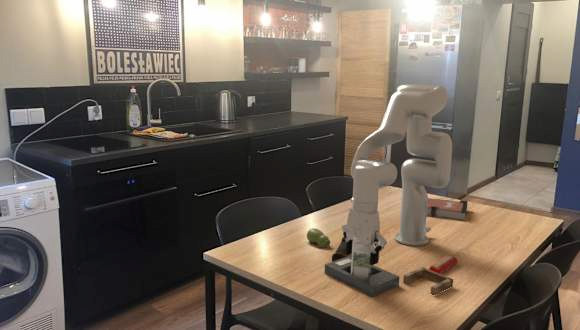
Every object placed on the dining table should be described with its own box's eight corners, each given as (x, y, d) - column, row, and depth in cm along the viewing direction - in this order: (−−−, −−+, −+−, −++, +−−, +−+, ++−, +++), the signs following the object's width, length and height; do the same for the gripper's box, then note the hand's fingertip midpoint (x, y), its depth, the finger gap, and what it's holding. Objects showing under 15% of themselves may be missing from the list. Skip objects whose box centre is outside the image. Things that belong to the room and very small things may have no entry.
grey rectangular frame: (350, 263, 158) (350, 254, 158) (398, 285, 143) (399, 275, 143) (324, 273, 151) (324, 263, 150) (372, 297, 136) (373, 286, 135)
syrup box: (368, 275, 150) (371, 232, 147) (370, 283, 144) (372, 239, 141) (350, 274, 150) (352, 231, 147) (351, 282, 145) (353, 238, 142)
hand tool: (342, 265, 157) (343, 252, 156) (331, 263, 159) (331, 250, 158) (354, 246, 175) (355, 234, 174) (344, 244, 176) (344, 232, 175)
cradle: (421, 274, 152) (422, 267, 151) (452, 286, 143) (453, 279, 143) (403, 282, 146) (403, 275, 145) (433, 296, 137) (434, 288, 137)
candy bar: (437, 278, 150) (437, 269, 149) (426, 274, 152) (427, 265, 152) (459, 263, 161) (460, 255, 161) (449, 260, 164) (450, 252, 163)
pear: (315, 224, 180) (334, 236, 173) (312, 237, 181) (332, 248, 175) (304, 227, 176) (324, 239, 169) (302, 240, 177) (322, 252, 171)
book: (403, 213, 215) (404, 203, 214) (409, 203, 231) (410, 194, 230) (464, 222, 205) (465, 211, 204) (466, 211, 221) (467, 200, 220)
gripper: (335, 200, 146) (333, 252, 150) (379, 215, 133) (375, 271, 137) (352, 197, 151) (349, 247, 155) (395, 210, 138) (392, 265, 142)
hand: (361, 258), depth 146 cm, fingers open, 9 cm apart
